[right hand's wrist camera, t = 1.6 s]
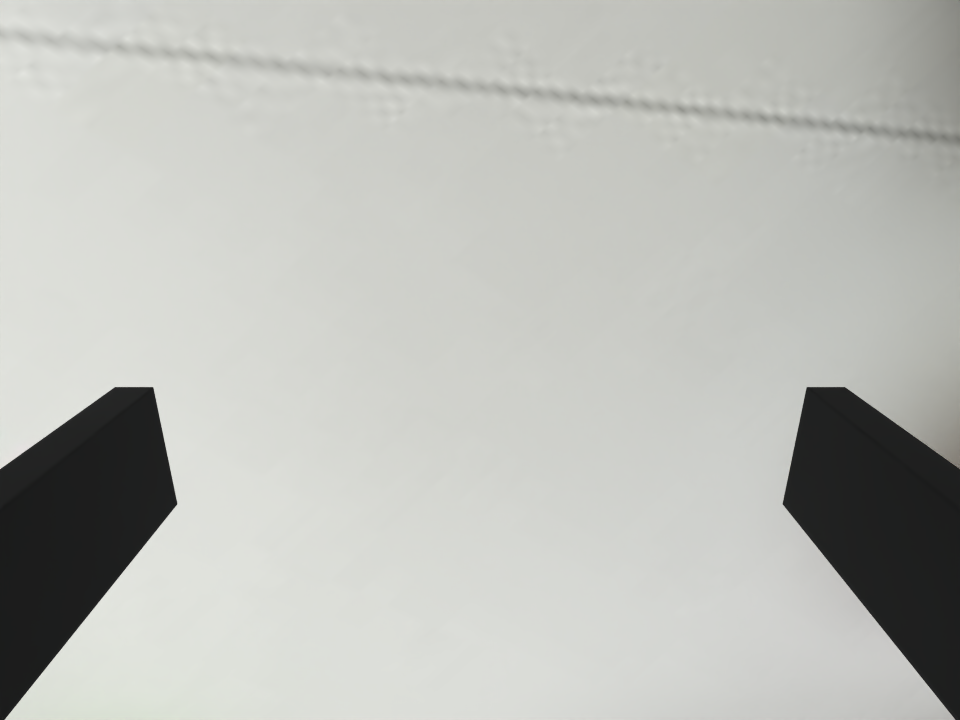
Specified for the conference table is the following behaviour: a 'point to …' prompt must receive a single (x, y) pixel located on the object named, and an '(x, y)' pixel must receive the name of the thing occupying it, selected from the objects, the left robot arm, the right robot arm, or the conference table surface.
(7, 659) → the right robot arm
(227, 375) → the conference table surface
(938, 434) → the conference table surface
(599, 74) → the conference table surface
